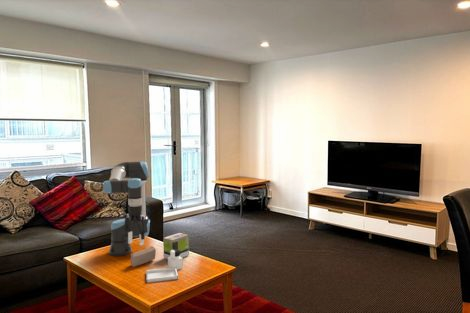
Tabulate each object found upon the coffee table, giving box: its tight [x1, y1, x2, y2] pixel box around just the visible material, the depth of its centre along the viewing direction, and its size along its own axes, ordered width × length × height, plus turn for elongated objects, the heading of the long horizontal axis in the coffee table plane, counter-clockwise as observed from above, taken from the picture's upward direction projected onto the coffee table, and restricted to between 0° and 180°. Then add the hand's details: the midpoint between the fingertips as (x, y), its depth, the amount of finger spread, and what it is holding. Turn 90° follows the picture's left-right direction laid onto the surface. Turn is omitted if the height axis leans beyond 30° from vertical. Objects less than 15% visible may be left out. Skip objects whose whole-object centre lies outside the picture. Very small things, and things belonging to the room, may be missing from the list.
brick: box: [130, 245, 157, 268], centre depth 225 cm, size 16×8×5 cm
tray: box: [145, 267, 179, 284], centre depth 206 cm, size 14×18×2 cm
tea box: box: [162, 232, 190, 260], centre depth 237 cm, size 15×10×15 cm, turn 141°
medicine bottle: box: [167, 249, 184, 271], centre depth 218 cm, size 7×7×12 cm
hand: (136, 243), depth 200 cm, fingers open, 8 cm apart
